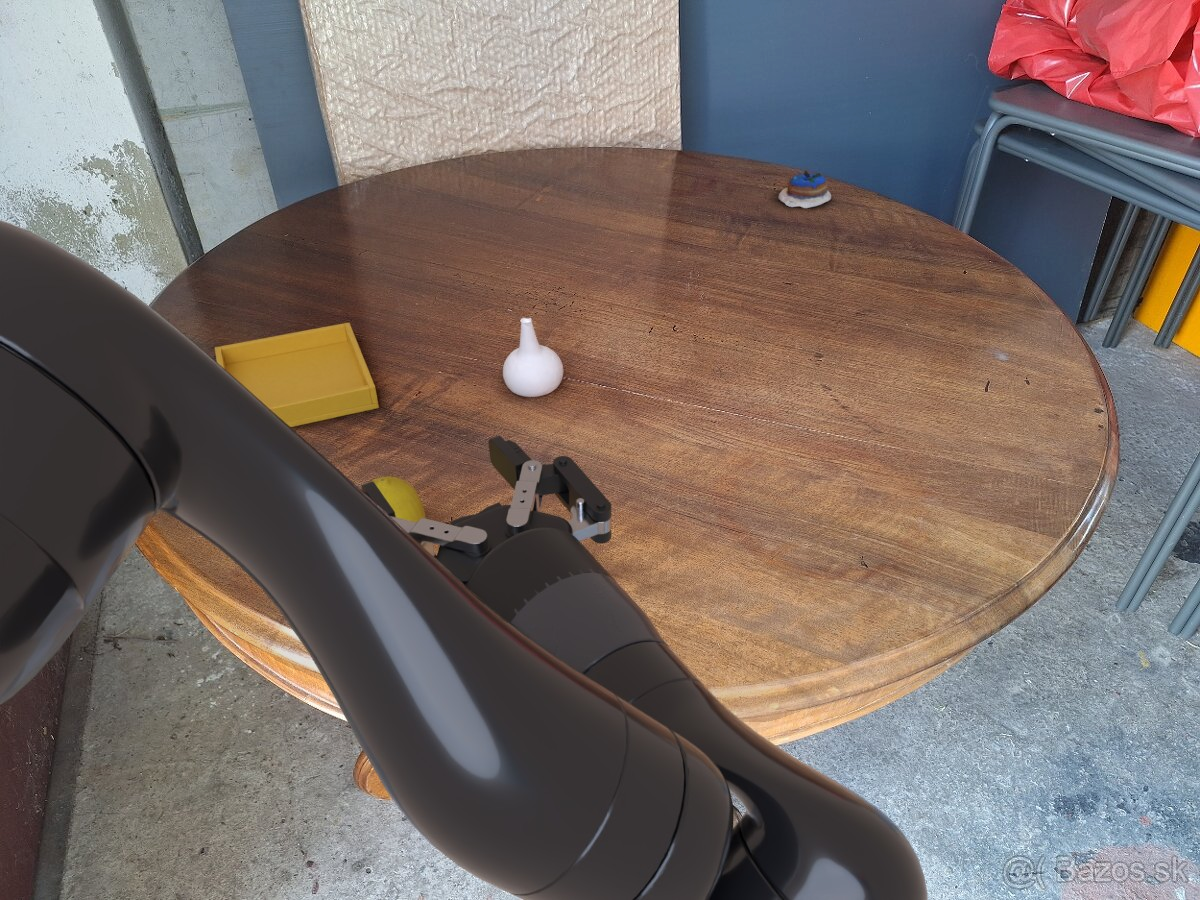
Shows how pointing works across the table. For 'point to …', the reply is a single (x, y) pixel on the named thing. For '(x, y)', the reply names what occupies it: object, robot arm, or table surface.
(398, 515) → the lemon
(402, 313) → the table surface
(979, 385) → the table surface
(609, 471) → the table surface
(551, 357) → the garlic bulb
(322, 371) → the yellow tray
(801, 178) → the dessert
